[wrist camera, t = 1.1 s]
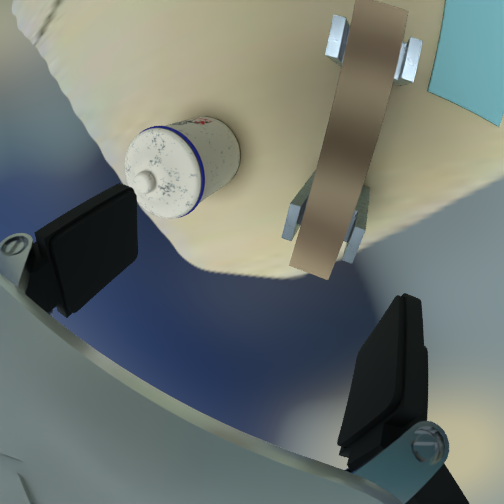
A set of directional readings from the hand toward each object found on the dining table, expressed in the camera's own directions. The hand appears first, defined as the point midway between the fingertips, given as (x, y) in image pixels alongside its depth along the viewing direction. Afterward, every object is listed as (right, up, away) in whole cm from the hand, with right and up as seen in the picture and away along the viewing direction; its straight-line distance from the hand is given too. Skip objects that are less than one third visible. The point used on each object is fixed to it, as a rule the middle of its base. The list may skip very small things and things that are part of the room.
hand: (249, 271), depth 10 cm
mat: (+22, +23, +5) cm, 32 cm away
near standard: (+11, +18, +13) cm, 25 cm away
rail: (+8, +9, +11) cm, 16 cm away
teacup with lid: (-6, +12, +25) cm, 28 cm away
